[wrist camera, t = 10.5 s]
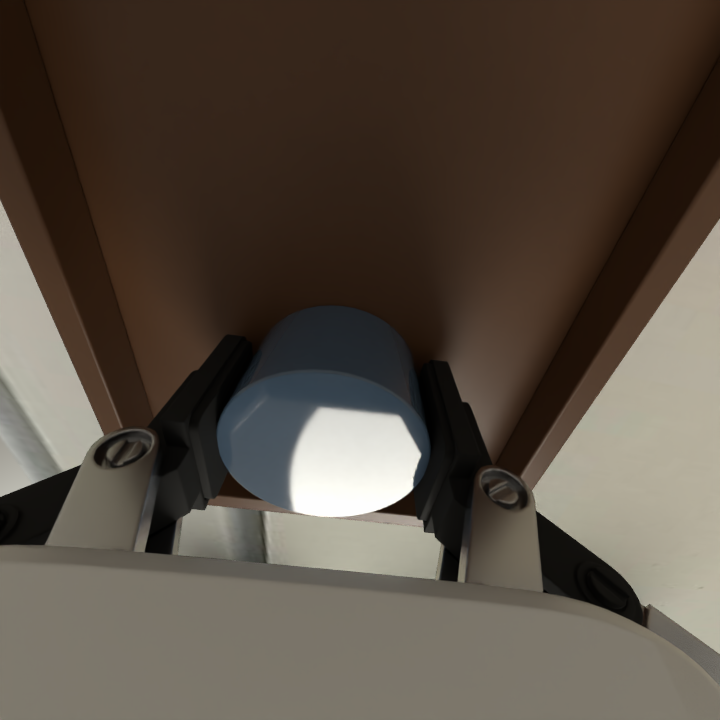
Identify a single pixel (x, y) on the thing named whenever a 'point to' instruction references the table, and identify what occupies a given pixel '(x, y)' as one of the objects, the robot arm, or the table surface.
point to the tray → (362, 188)
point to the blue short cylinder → (327, 416)
